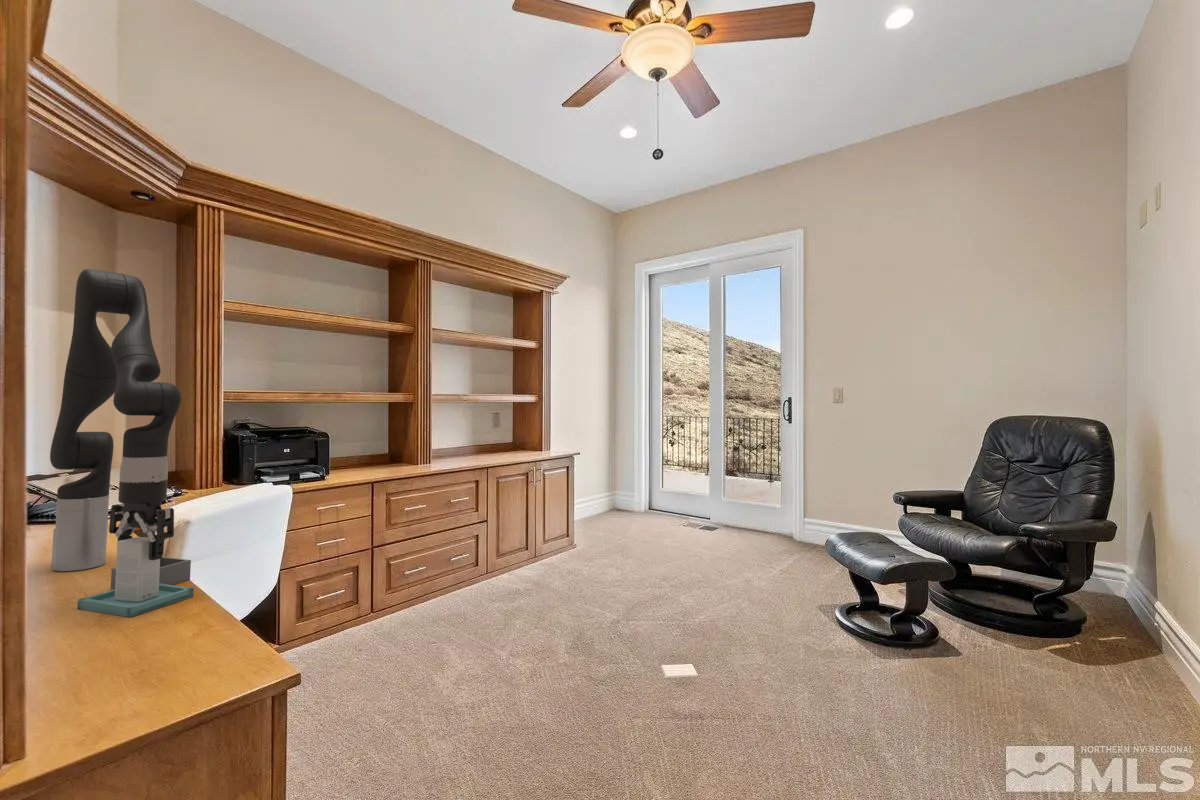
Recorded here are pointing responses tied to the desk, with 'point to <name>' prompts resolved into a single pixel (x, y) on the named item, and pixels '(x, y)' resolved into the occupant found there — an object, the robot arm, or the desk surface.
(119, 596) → the skincare box
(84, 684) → the desk surface
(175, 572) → the holder
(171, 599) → the tray
